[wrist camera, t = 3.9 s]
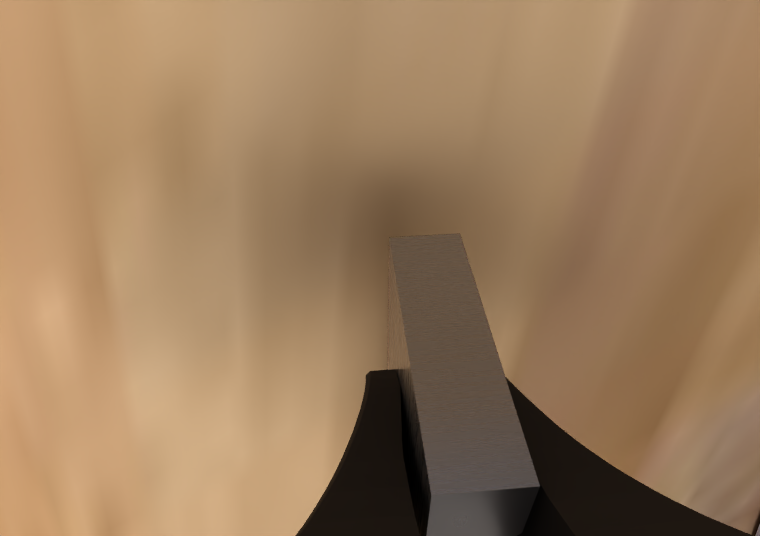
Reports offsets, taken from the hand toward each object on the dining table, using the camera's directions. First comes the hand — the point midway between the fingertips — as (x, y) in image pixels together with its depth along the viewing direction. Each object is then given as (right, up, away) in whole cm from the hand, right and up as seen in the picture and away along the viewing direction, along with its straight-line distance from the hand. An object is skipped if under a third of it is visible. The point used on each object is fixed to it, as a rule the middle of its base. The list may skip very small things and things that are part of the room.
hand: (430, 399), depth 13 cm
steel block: (0, -6, +8) cm, 10 cm away
